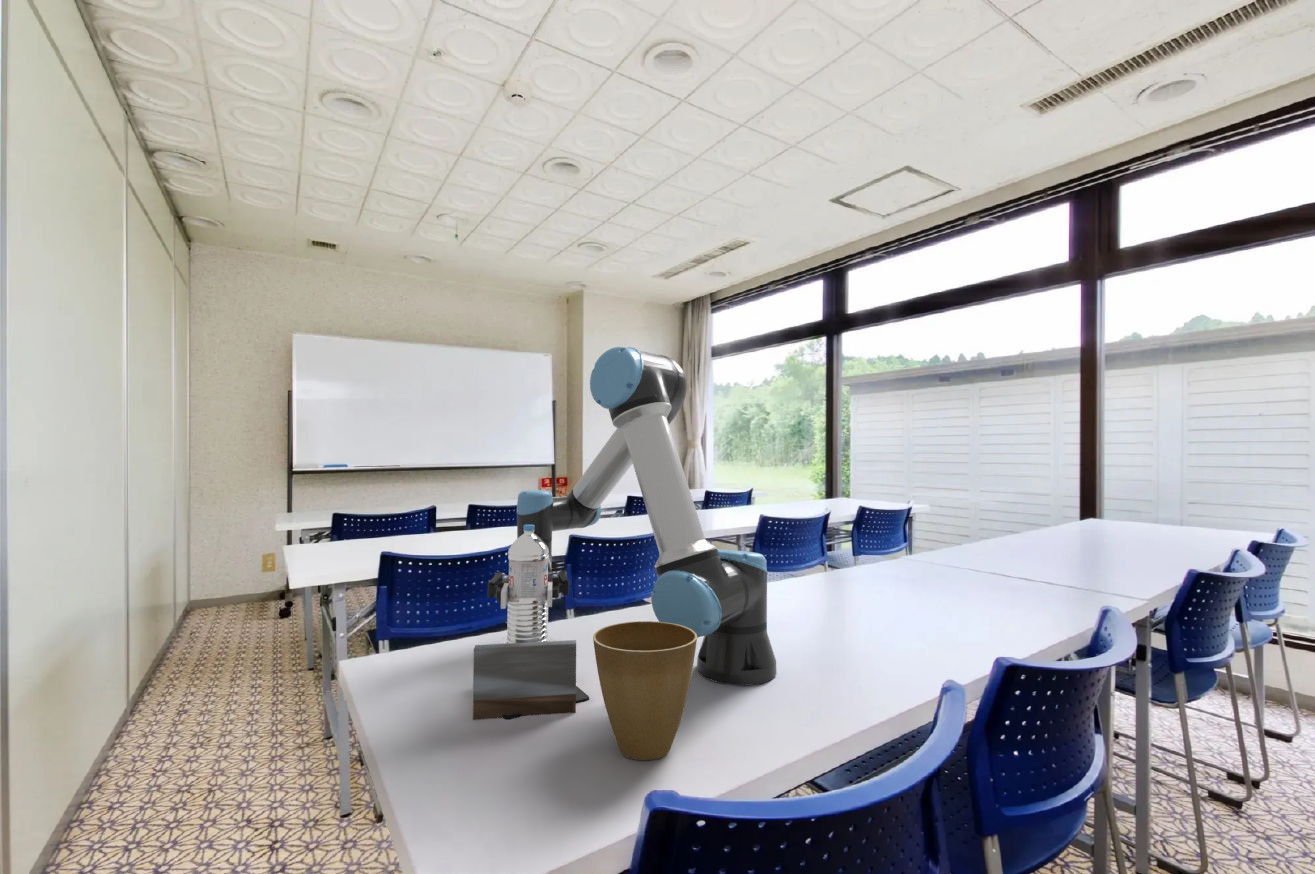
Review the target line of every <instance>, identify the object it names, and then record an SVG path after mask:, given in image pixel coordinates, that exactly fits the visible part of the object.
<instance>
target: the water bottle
mask: <svg viewBox="0 0 1315 874" xmlns="http://www.w3.org/2000/svg"><path fill="white" fill-rule="evenodd" d="M534 528H535V526H534V525H524V526H523V529H524V530H523V531H524V534H523V535H521V536H520V537H519V538H517V537H516V539H515V541H513V542H512V543H511V545H510V547H509V548H508V551H507V552H508V556H507V557H508V575H509V592H508V603H507V614H506V615H507V619H506V620H507V623H506V624H507V629H506V630H507V631H506V632H507V635H506V638H507V640H506V644H507V643H527V642H546V641H549V638H548V635H549V631H548V630H549V621H548V620H549V607H547V594H548V557H549V549H548V547H547V545H546V544H545V542H544V541H543V540H542V539H541V538H540V537H538V536H537V535H536V534H534Z"/></svg>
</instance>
